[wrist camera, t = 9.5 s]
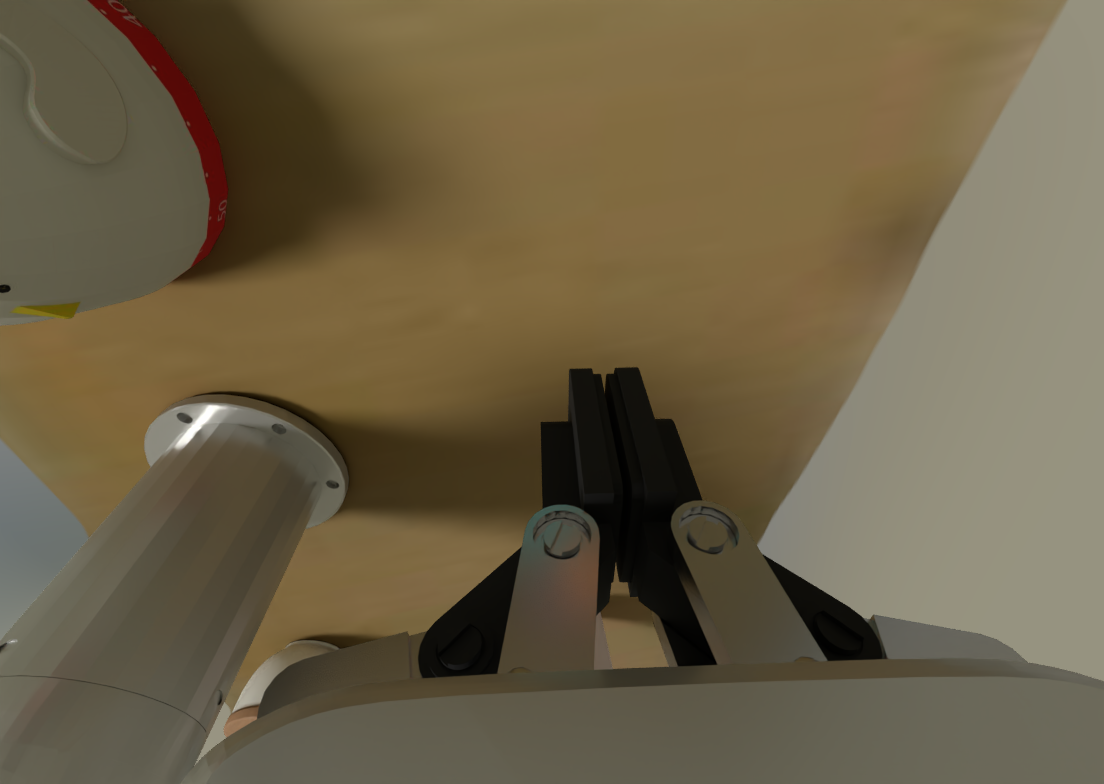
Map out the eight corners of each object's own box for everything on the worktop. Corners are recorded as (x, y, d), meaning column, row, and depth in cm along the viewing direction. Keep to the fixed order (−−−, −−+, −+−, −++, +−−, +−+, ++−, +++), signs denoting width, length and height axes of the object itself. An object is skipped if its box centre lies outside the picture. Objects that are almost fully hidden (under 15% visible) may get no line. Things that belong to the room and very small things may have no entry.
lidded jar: (252, 661, 53) (203, 767, 45) (275, 618, 47) (224, 731, 40) (349, 682, 56) (320, 784, 49) (382, 645, 51) (354, 753, 43)
